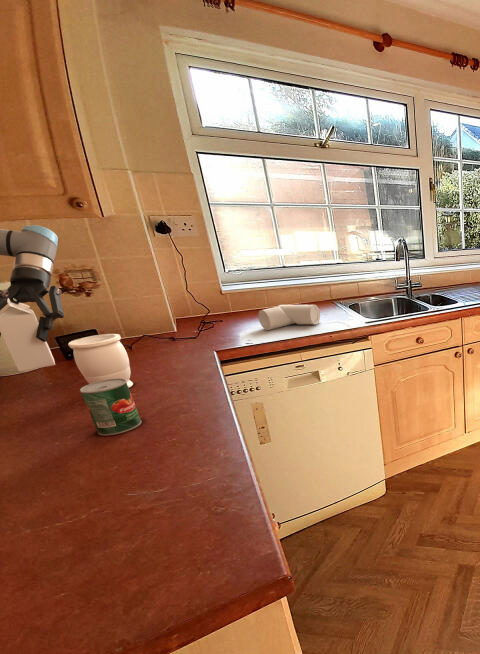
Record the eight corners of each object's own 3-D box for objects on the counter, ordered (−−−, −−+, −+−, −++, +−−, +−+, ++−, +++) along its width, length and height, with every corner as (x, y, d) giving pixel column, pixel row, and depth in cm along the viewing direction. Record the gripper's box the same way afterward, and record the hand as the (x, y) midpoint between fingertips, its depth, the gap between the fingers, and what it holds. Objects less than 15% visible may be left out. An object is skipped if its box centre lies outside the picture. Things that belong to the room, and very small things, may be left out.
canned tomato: (100, 425, 101) (82, 383, 97) (142, 416, 105) (127, 375, 101) (95, 439, 95) (76, 395, 91) (141, 428, 99) (124, 386, 95)
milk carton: (18, 372, 116) (-13, 304, 109) (18, 366, 120) (-12, 300, 113) (55, 365, 120) (27, 299, 113) (54, 359, 125) (27, 296, 118)
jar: (123, 379, 127) (105, 331, 121) (146, 384, 124) (128, 335, 118) (80, 394, 118) (58, 342, 112) (103, 399, 114) (82, 346, 109)
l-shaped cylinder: (301, 314, 193) (257, 324, 177) (299, 292, 188) (254, 301, 173) (326, 328, 186) (283, 340, 170) (325, 305, 181) (281, 316, 166)
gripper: (88, 279, 129) (77, 343, 121) (-8, 283, 122) (-25, 351, 114) (71, 263, 123) (59, 330, 114) (-31, 267, 116) (-52, 338, 108)
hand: (17, 341), depth 114 cm, fingers closed on milk carton, 9 cm apart
